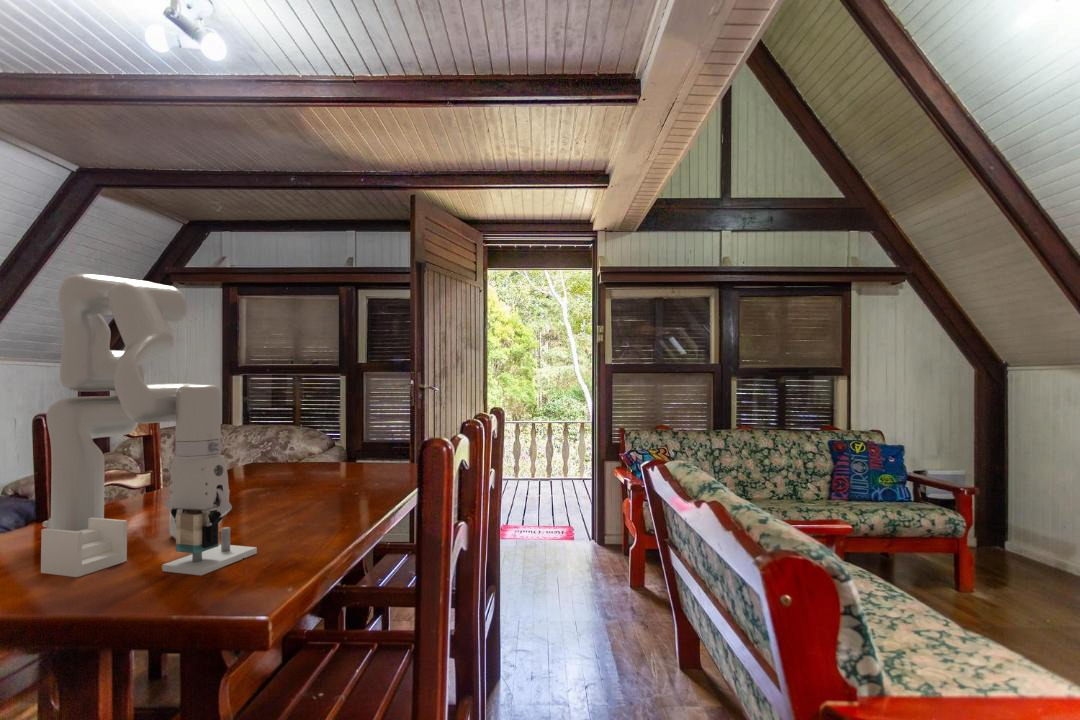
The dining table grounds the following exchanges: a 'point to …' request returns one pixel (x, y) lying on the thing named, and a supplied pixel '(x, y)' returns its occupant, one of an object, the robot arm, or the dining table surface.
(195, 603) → the dining table surface
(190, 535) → the sleeve
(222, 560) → the pin board
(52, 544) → the white stepped block
